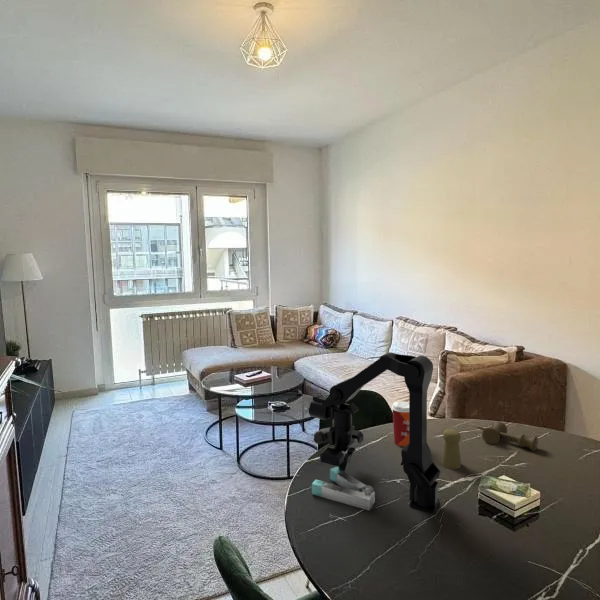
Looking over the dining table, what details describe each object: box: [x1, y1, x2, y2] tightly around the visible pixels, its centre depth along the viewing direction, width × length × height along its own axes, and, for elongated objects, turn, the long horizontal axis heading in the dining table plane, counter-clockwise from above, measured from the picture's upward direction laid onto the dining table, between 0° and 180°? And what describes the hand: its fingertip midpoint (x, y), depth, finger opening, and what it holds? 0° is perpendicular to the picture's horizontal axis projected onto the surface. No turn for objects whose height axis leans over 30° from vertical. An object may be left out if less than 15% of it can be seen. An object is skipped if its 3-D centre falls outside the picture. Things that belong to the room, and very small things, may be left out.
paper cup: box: [391, 401, 409, 447], centre depth 156 cm, size 8×8×14 cm
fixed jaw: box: [311, 478, 376, 511], centre depth 123 cm, size 17×6×4 cm, turn 61°
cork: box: [440, 428, 462, 470], centre depth 140 cm, size 6×6×11 cm
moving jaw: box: [329, 466, 367, 492], centre depth 128 cm, size 13×3×3 cm, turn 34°
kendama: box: [476, 420, 539, 452], centre depth 156 cm, size 6×10×20 cm
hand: (342, 472), depth 135 cm, fingers closed
